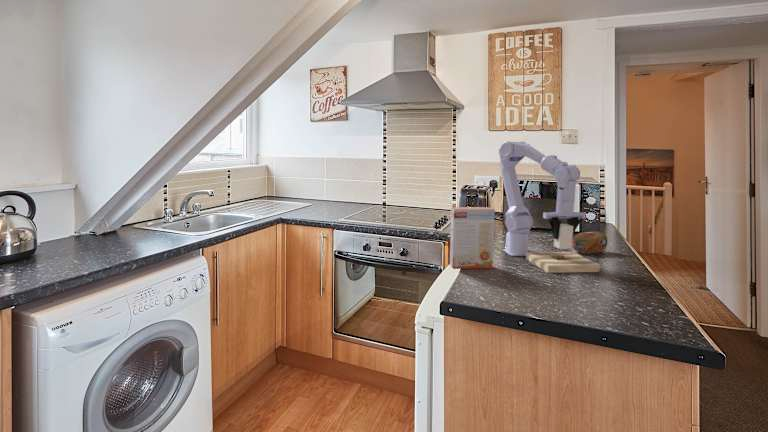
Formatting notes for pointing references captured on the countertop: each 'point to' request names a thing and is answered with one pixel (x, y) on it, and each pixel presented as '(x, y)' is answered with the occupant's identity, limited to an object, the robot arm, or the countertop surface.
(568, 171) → the robot arm
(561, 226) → the keyed peg
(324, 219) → the countertop surface
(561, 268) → the socket plate
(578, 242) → the tin
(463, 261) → the cracker box
